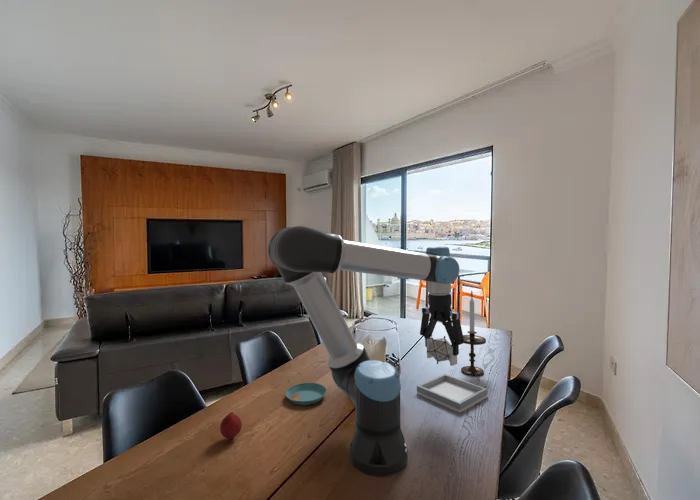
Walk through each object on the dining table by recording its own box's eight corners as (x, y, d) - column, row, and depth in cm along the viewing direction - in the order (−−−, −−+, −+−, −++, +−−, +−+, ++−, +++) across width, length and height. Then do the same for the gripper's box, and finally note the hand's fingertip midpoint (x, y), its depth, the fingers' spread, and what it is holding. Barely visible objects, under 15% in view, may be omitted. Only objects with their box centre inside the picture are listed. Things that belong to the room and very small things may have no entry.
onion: (229, 447, 93) (228, 418, 93) (216, 441, 96) (215, 413, 96) (246, 436, 98) (245, 409, 98) (233, 431, 101) (232, 404, 101)
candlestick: (481, 379, 135) (481, 292, 134) (455, 373, 142) (454, 290, 141) (489, 370, 144) (488, 289, 143) (463, 365, 150) (463, 287, 149)
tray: (460, 412, 109) (459, 403, 109) (416, 393, 123) (416, 385, 123) (487, 397, 120) (487, 388, 120) (444, 381, 134) (444, 373, 134)
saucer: (277, 399, 121) (277, 392, 121) (309, 386, 132) (308, 379, 132) (303, 413, 111) (303, 405, 111) (335, 397, 122) (335, 390, 122)
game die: (447, 374, 110) (457, 356, 104) (422, 364, 112) (430, 345, 106) (450, 353, 117) (460, 335, 111) (426, 344, 119) (435, 325, 113)
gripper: (475, 295, 105) (477, 366, 105) (421, 288, 122) (424, 350, 123) (460, 298, 100) (463, 373, 101) (407, 291, 117) (409, 355, 118)
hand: (441, 360), depth 112 cm, fingers closed on game die, 9 cm apart
